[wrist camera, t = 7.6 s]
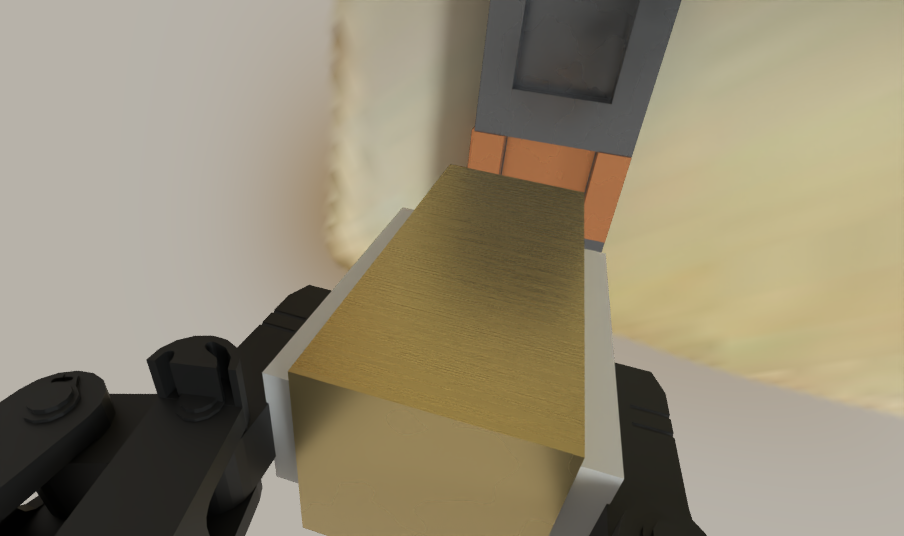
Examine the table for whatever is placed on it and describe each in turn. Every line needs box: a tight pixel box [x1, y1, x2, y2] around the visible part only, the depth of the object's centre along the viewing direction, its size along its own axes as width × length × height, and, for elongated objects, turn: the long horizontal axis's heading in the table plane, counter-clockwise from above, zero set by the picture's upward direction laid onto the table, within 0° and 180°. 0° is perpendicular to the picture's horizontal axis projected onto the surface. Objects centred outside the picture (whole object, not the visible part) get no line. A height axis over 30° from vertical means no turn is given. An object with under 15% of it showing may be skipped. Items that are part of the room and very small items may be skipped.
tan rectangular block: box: [288, 164, 585, 536], centre depth 11 cm, size 4×4×9 cm
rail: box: [468, 0, 681, 252], centre depth 24 cm, size 26×9×3 cm, turn 174°
